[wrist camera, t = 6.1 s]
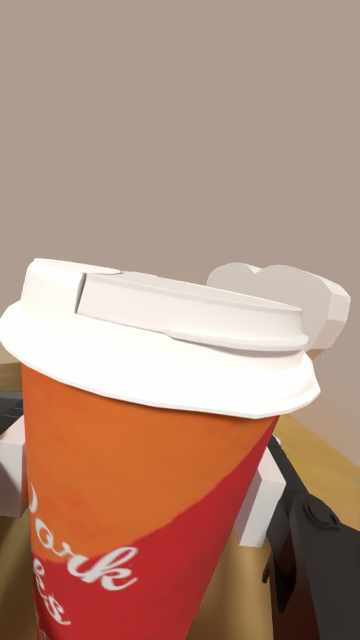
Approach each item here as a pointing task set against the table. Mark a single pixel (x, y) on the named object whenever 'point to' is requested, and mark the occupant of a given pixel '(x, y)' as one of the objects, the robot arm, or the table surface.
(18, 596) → the table surface
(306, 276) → the heart sculpture
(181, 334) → the coffee cup
